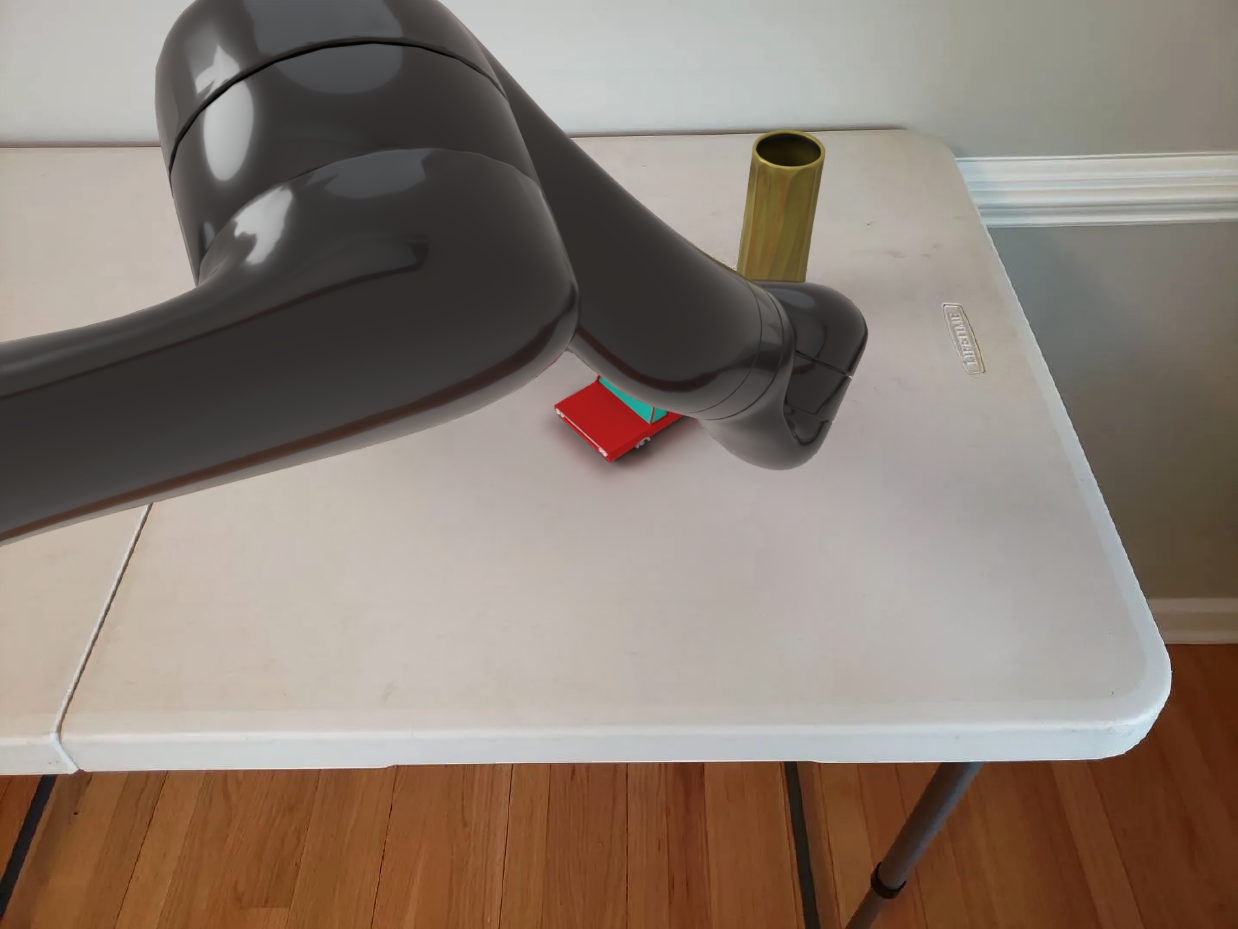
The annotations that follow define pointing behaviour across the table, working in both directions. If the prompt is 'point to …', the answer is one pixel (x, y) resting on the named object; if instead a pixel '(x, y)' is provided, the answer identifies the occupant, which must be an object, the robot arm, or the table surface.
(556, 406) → the toy car
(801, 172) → the vase
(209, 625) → the table surface
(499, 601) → the table surface
